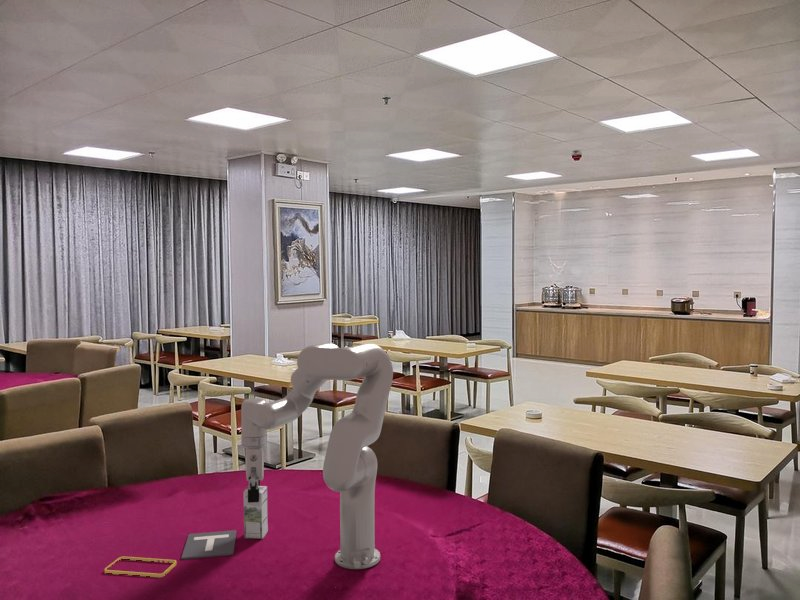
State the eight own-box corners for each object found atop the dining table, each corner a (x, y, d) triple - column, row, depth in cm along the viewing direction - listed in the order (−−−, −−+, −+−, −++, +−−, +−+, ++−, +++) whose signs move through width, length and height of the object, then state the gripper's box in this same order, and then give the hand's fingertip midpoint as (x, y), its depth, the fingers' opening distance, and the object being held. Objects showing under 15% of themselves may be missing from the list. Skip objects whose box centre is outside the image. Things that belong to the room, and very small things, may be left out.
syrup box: (268, 531, 194) (267, 485, 193) (262, 539, 188) (261, 492, 187) (250, 530, 194) (249, 484, 193) (243, 539, 188) (242, 491, 188)
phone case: (120, 560, 176) (120, 556, 176) (178, 564, 173) (177, 560, 173) (102, 575, 168) (102, 570, 168) (162, 579, 165) (162, 574, 165)
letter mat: (233, 554, 178) (233, 552, 178) (181, 559, 175) (181, 557, 175) (236, 531, 194) (236, 529, 194) (188, 535, 191) (188, 533, 191)
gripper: (266, 448, 182) (266, 506, 183) (267, 431, 199) (266, 485, 200) (239, 449, 180) (239, 507, 181) (242, 432, 197) (242, 486, 198)
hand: (253, 495), depth 191 cm, fingers open, 9 cm apart
